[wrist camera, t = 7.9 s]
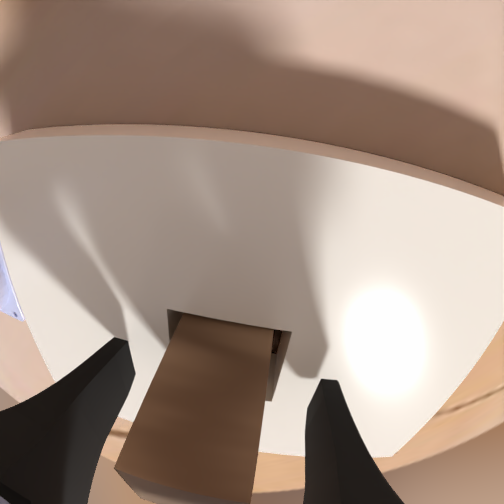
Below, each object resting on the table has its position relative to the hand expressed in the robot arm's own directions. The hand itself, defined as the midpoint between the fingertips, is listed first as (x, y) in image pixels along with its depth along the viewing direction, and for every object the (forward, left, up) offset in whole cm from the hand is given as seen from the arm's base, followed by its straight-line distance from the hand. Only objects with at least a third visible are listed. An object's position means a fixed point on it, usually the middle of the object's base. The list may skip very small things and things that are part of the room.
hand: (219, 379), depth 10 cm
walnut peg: (0, 0, -4) cm, 4 cm away
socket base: (0, 0, -4) cm, 4 cm away
